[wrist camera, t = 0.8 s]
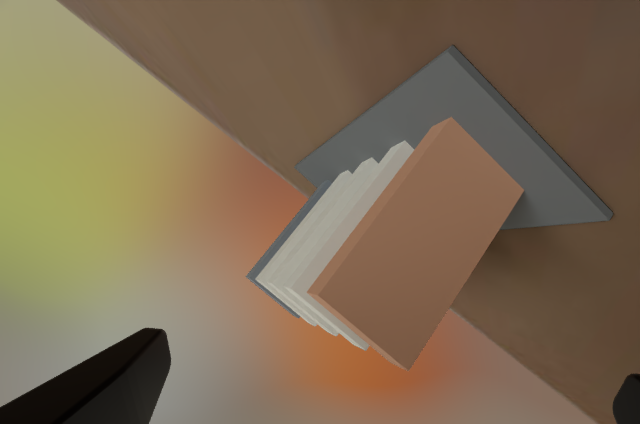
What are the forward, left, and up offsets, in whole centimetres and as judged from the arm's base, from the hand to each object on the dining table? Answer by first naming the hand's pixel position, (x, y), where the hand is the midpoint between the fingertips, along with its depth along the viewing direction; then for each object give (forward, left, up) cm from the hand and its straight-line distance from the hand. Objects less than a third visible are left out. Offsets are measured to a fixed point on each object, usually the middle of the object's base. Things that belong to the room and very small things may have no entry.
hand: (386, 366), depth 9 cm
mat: (+16, +7, -12) cm, 21 cm away
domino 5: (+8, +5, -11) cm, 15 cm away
